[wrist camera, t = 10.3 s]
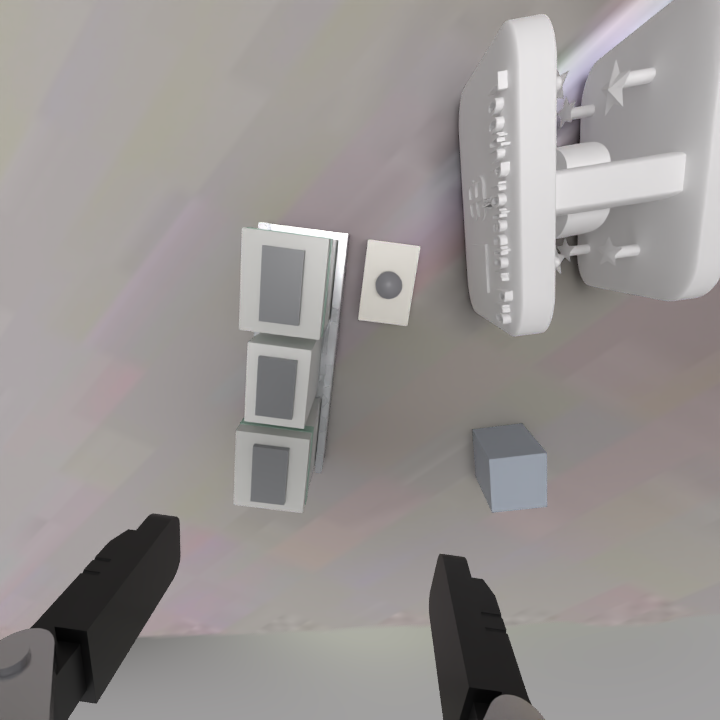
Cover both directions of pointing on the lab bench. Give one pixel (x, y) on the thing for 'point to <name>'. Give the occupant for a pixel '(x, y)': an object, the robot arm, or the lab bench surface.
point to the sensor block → (388, 282)
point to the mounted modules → (289, 318)
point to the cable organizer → (593, 167)
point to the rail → (329, 333)
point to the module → (281, 379)
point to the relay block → (510, 468)
